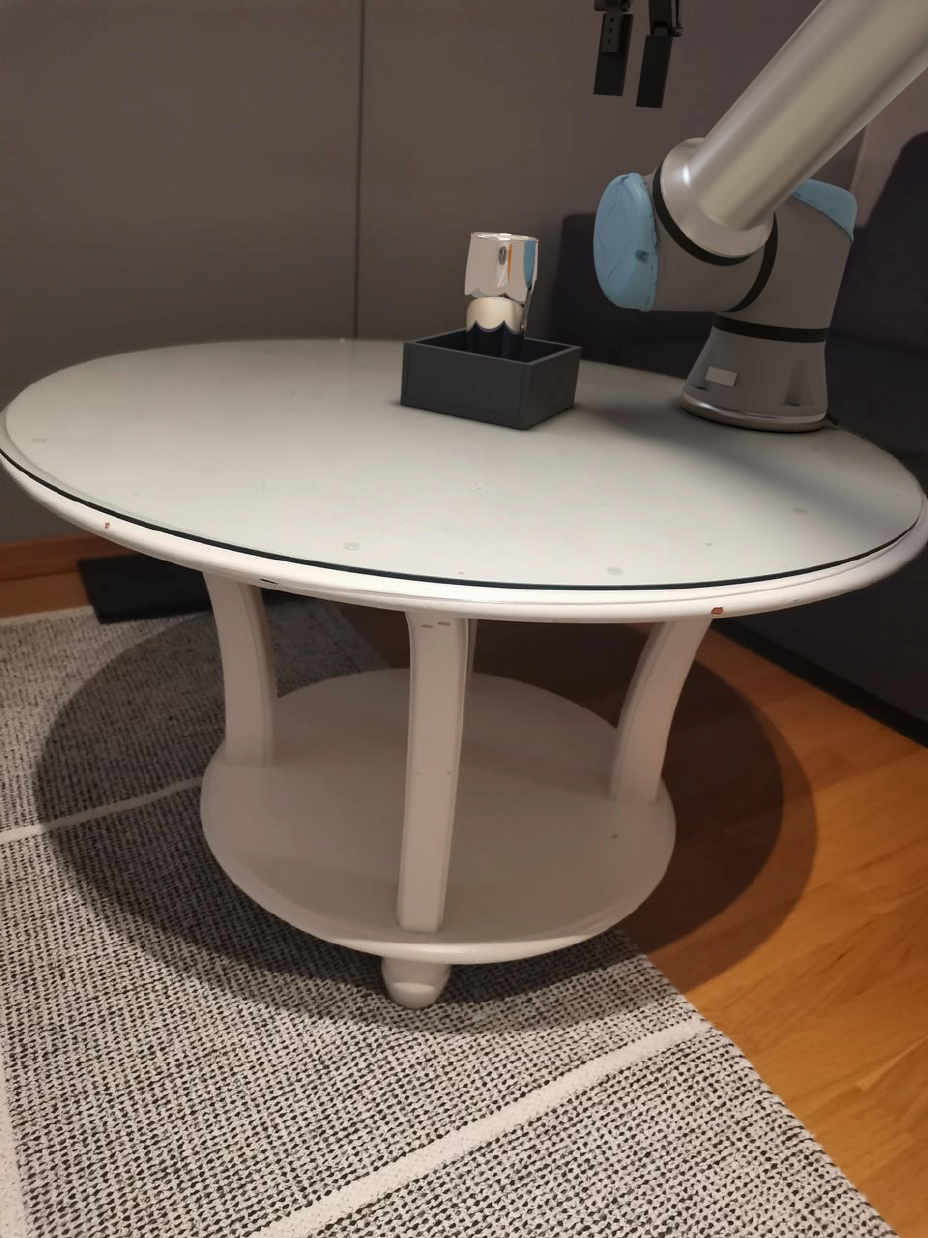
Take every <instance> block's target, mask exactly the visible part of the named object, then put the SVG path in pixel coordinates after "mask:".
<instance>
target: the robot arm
mask: <svg viewBox="0 0 928 1238" xmlns="http://www.w3.org/2000/svg"><path fill="white" fill-rule="evenodd" d="M634 1H635V0H594V1H593V9H594V11H595V12H604V13H603V14H602V20H601V29H600V36H599V46H598V52H597V61H596V68H595V76H594V83H593V91H592V94H593V95H595V96H609V97H610V96H611V97H624V89H625V83H626V76H627V75H626V74H627V67H628V61H629V54H630V46H631V40H632V32H633V26H634V18H635V15H634V14H632V13H629V12H630V11H631V9H632V7H633V4H634ZM647 1H648V19H649V34H645V37H644V38H645V39H644V46H643V51H642V59H641V67H640V73H639V80H638V87H637V92H636V93H637V94H636V101H635V107H637V108H648V109H663V106H664V98H665V92H666V91H665V90H666V85H667V79H668V74H669V73H668V72H669V66H670V61H671V54H672V47H673V40H674V38H682V36H683V33H684V26H683V2H684V1H683V0H647ZM926 69H928V0H820V2H819V3H818V4H817V5H816V6H815V8H813V10H812V12H810V14H809V15H808V16H807V17H806V18H805V20H804V21H803V22H802V23H801V24H800V26H799V27H798V28H797V29H796V30H795V31H794V33H792V35H791V36H790V37H789V38H788V39H787V40H786V42H785V43H784V44H783V45H782V46H781V48H780V49H779V50H778V51H777V53H775V55H774V56H773V57H772V58H771V59H770V60H769V62H768V63H767V64H766V65H765V66H764V67H763V69H761V71H760V72H759V74H757V76H756V77H754V79H753V80H752V82H751V83H750V84H749V85H748V86H747V88H746V89H745V90H744V91H743V92H742V93H741V95H740V96H739V97H738V98H737V99H736V101H735V102H734V103H733V104H732V105H731V106H730V108H729V109H727V111H726V112H725V113H724V114H723V116H722V117H720V119H719V120H718V121H717V123H716V124H715V125H714V126H713V127H712V128H711V130H710V131H709V132H708V133H707V134H706V136H705V137H692V138H688V139H685V140H683V141H682V142H679V143H678V144H676V145H675V146H674V147H673V148H671V150H670V151H669V152H668V153H667V155H665V157H664V158H663V160H662V161H661V162H660V163H659V164H658V166H657V167H656V168H655V169H654V170H653V171H652V172H651V173H650V174H648V175H640V174H639V173H638V172H630V173H629V174H621V175H619V176H616V177H615V178H614V179H613V180H612V181H610V183H609V184H608V185H607V187H606V188H605V191H603V194H602V196H601V199H600V202H599V203H598V208H597V210H596V214H595V215H596V216H595V220H594V221H595V222H594V230H593V231H594V232H593V241H592V244H593V250H592V251H593V261H594V262H593V263H594V268H595V273H596V277H597V281H598V285H599V287H600V288H601V291H602V292H603V294H604V296H605V297H606V298H607V299H608V300H609V301H610V302H611V303H613V304H614V305H615V306H617V307H618V308H623V309H633V310H638V311H640V312H650V311H654V312H655V311H657V312H702V313H703V312H705V313H707V312H709V313H711V312H712V313H714V316H713V320H712V326H711V330H710V333H709V335H708V336H709V337H708V338H707V340H706V342H705V344H704V346H703V347H702V350H701V352H700V354H699V355H698V357H697V359H696V361H695V364H693V366H692V369H691V370H690V372H689V374H688V376H687V378H686V380H685V382H684V384H683V386H682V390H681V396H680V401H679V404H680V406H681V407H682V408H683V409H684V410H686V411H687V412H689V413H691V414H693V415H695V416H698V417H701V418H704V419H707V420H711V421H714V422H717V423H722V424H726V425H729V426H730V425H731V426H736V427H741V428H745V429H746V428H747V429H752V430H753V429H754V430H762V431H773V432H791V433H792V432H793V433H794V432H796V433H797V432H808V431H814V430H815V431H816V430H818V429H821V428H822V427H823V426H824V425H825V422H826V419H827V420H829V421H830V422H831V423H832V424H833V425H834V426H839V424H840V423H841V422H842V421H843V420H842V419H841V418H840V417H839V416H838V415H837V414H836V413H835V412H834V411H832V410H831V409H830V408H829V407H828V404H829V402H828V386H827V375H826V374H827V373H826V359H825V348H826V343H827V339H828V334H829V330H830V327H831V323H832V319H833V315H834V311H835V306H836V303H837V299H838V296H839V291H840V289H841V288H840V287H841V284H842V281H843V276H844V273H845V269H846V265H847V261H848V257H849V254H850V249H851V247H852V245H853V243H854V238H855V236H854V228H855V223H856V218H857V213H858V203H857V200H856V198H855V196H854V195H853V194H852V193H851V192H850V191H848V190H846V189H844V188H842V187H840V186H837V185H833V184H831V183H828V182H827V183H826V182H823V181H819V180H816V179H811V178H812V176H813V175H815V174H816V173H817V172H818V171H819V170H820V169H822V167H823V166H824V165H825V164H827V162H828V161H829V160H831V159H832V158H833V157H834V156H835V155H836V154H837V153H838V152H840V150H842V149H843V148H844V147H845V146H846V145H847V144H848V143H849V142H850V141H851V140H852V139H853V138H854V137H855V136H856V135H857V134H858V133H860V131H861V130H862V129H864V128H865V127H866V126H867V125H868V124H869V123H870V122H871V121H872V120H873V119H875V117H876V116H877V115H878V114H879V113H881V111H883V110H884V109H885V108H886V107H887V106H888V105H889V104H890V103H891V102H892V101H893V100H894V99H896V98H897V97H898V96H899V95H900V94H901V93H902V92H903V91H904V90H905V89H906V88H907V87H908V86H909V85H910V84H912V82H914V81H915V80H916V79H917V78H918V77H919V76H920V75H921V74H922V73H923V72H925V70H926Z"/></svg>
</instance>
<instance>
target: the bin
mask: <svg viewBox="0 0 928 1238" xmlns="http://www.w3.org/2000/svg"><path fill="white" fill-rule="evenodd" d="M582 349H583V347H582V346H579V345H572V344H568V343H567V344H566V343H561V342H555V341H549V340H544V339H537V338H532V337H526V336H525V338H524V341H523V345H522V349H521V354H520V360H519V361H514V360H508V359H502V358H497V357H491V356H486V355H480V354H475V353H469V352H467V335H466V326H465V327H461V328H457V329H453V330H449V331H445V332H441V333H436V334H432V335H428V336H424V337H419V338H416V339H411V340H408V341H404V342H403V348H402V365H401V367H402V368H401V382H400V383H401V384H400V402H399V404H400V405H401V406H402V405H403V406H408V407H412V408H416V409H421V410H426V411H431V412H436V413H442V414H445V415H446V414H447V415H451V416H456V417H459V418H466V419H470V420H474V421H479V422H484V423H489V424H494V425H499V426H504V427H509V428H513V429H517V430H521V431H522V430H523V431H525V430H527V429H529V428H531V427H532V426H534V425H536V424H539V423H541V422H543V421H545V420H546V419H550V418H551V417H552V416H554V415H556V414H559V413H560V412H562V411H565V410H567V409H569V408H571V407H573V406H574V405H575V401H576V400H575V399H576V393H577V385H578V379H579V370H580V362H581V357H582V356H581V355H582Z"/></svg>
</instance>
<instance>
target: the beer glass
mask: <svg viewBox="0 0 928 1238" xmlns="http://www.w3.org/2000/svg"><path fill="white" fill-rule="evenodd" d="M469 236H470V237H469V244H468V248H467V249H468V250H467V255H466V262H465V271H464V282H463V308H464V310H463V311H464V324H465V327H466V335H467V352H469V353H475V354H480V355H486V356H491V357H497V358H502V359H508V360H514V361H519V360H520V354H521V349H522V345H523V341H524V338H525V337H526V334H527V330H528V327H529V323H530V320H531V317H532V312H533V307H534V304H535V298H536V290H537V282H538V271H539V270H538V269H539V248H540V247H539V245H540V239H539V238H537V237H532V236H528V235H520V234H511V233H503V232H490V231H489V232H487V231H486V232H485V231H474V232H470V235H469Z"/></svg>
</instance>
